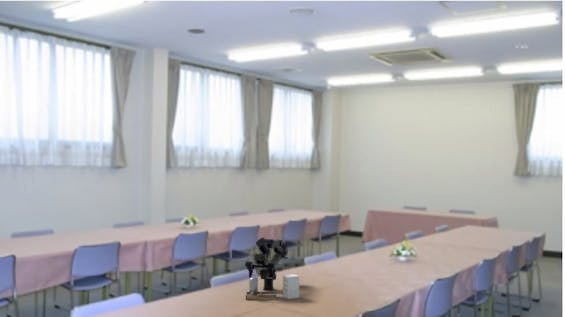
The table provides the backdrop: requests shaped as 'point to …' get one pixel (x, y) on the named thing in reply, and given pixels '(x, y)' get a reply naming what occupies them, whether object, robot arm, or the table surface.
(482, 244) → the table surface
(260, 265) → the robot arm
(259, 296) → the wooden divided tray
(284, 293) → the supplement box
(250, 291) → the grey metal cylinder
